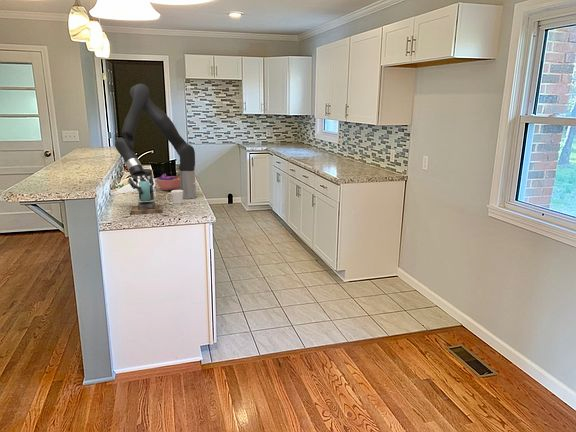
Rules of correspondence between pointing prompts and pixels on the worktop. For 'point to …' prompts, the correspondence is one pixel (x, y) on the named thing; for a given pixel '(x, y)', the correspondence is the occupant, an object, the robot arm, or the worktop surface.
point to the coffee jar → (149, 173)
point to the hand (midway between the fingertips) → (146, 193)
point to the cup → (176, 197)
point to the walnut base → (146, 208)
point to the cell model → (168, 182)
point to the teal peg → (145, 190)
